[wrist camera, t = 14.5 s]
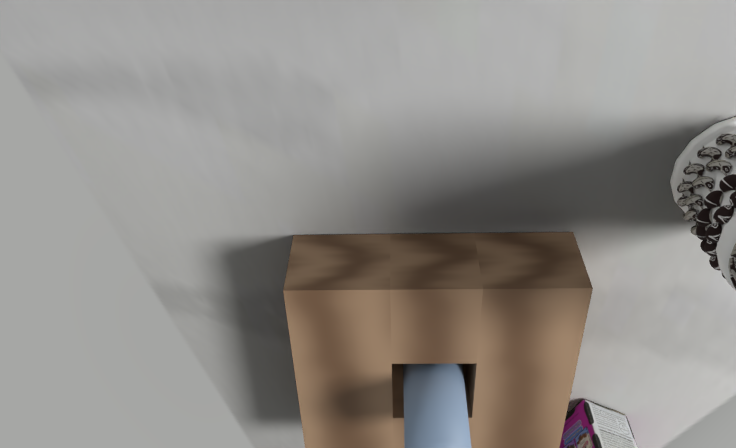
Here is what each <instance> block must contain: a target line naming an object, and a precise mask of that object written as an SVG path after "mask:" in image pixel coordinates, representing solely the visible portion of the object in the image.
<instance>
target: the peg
mask: <svg viewBox="0 0 736 448" xmlns="http://www.w3.org/2000/svg"><path fill="white" fill-rule="evenodd" d="M403 389H404V448H471V439H470V429H469V420H468V411H467V402H466V392H465V383H464V374H463V365H462V364H403Z"/></svg>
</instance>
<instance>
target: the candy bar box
mask: <svg viewBox="0 0 736 448" xmlns="http://www.w3.org/2000/svg"><path fill="white" fill-rule="evenodd" d="M559 448H638V447H637V444H636V441H635V439H634V436H633V433H632V430H631V427H630V425H629V422H628V419H627V416H626V415H625V414H623V413H620V412H618V411H616V410H613V409H609V408H606V407H603V406H601V405H598V404H596V403H594V402H591V401H588V400H585V399H584V400H582V401H581V402H580V403H579V404H578V405H577V406H576V407H575V408H574V409H573V410H572V411H571V412H570V413H569V414H568V415H567V416H566V419H565V423H564V428H563V433H562V438H561V443H560V447H559Z"/></svg>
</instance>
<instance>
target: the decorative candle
mask: <svg viewBox="0 0 736 448" xmlns="http://www.w3.org/2000/svg"><path fill="white" fill-rule="evenodd" d="M670 184H671V188H672V193H673V197H674V201H675V202H676V203H677V205H678V206H679V207H680V208H681V209H682V210H683V211H684V212H685V213H684V214H683V218H684V220H686V221H692V220H694V221H696V225H695V226H693V227H692V228H691V233H692V234H694V235H697V237H698V238H699V239H701V240H703V241H702V242H701V249H702V250H703V251H704V252H705V253H707V254H708V255H710V256H711V257H710V260H709V262H710V265H711V266H712V267H713V268H714V269H716V270H721V272H722V276H723V277H724V278H725V279H726V280H727V282H728V283H729V284H730V285H731V286H732V287H733V288H734V289H735V290H736V117H733V118H730V119H727V120H724V121H721V122H718V123H715V124H714V125H712V126H711V127H709V128H708V129H706V130H705V131H704V132H702V133H701V134H699V135H698V136H696V137H695V138H693V139H692V140H691V141H690V142H689V144H688V145H687V146H686V148H685V149H684V150H683V152H682V153H681V154H680V155H679V157H678V158H677V159H676V162H675V165H674V169H673V172H672V176H671V179H670ZM696 219H697V220H696Z"/></svg>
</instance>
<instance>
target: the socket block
mask: <svg viewBox="0 0 736 448" xmlns="http://www.w3.org/2000/svg"><path fill="white" fill-rule="evenodd" d="M592 289H593V288H592V285H591V282H590V279H589V276H588V273H587V271H586V268H585V265H584V262H583V259H582V256H581V253H580V250H579V248H578V245H577V242H576V239H575V236H574V233H573V232H530V233H437V234H345V235H293V240H292V246H291V251H290V256H289V262H288V267H287V273H286V278H285V283H284V289H283V293H284V300H285V307H286V314H287V321H288V329H289V336H290V343H291V350H292V357H293V364H294V371H295V378H296V385H297V392H298V400H299V407H300V414H301V421H302V428H303V435H304V442H305V448H404V389H403V364H462V365H463V374H464V383H465V392H466V402H467V411H468V420H469V429H470V439H471V448H559V447H560V443H561V438H562V433H563V428H564V423H565V419H566V414H567V409H568V404H569V399H570V395H571V390H572V385H573V380H574V375H575V371H576V366H577V361H578V356H579V351H580V347H581V342H582V337H583V332H584V327H585V323H586V318H587V313H588V308H589V303H590V299H591V294H592Z"/></svg>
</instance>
